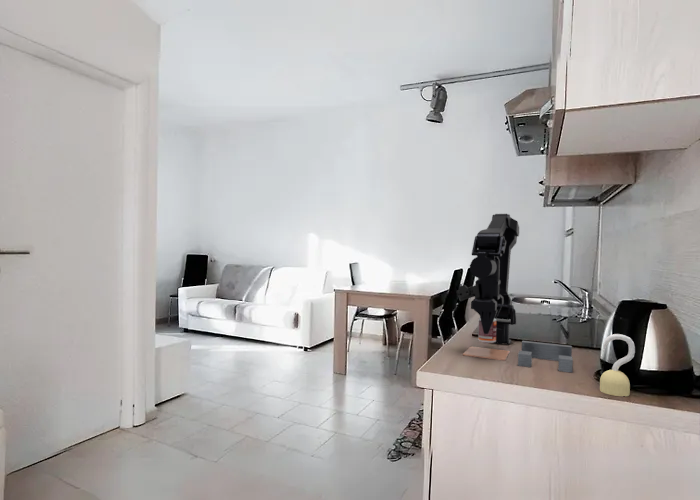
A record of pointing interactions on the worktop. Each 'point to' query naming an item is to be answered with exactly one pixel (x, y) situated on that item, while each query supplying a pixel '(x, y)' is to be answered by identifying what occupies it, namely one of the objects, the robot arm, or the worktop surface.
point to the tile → (486, 353)
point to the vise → (546, 354)
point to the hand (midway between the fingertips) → (487, 332)
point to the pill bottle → (491, 335)
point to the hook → (614, 379)
